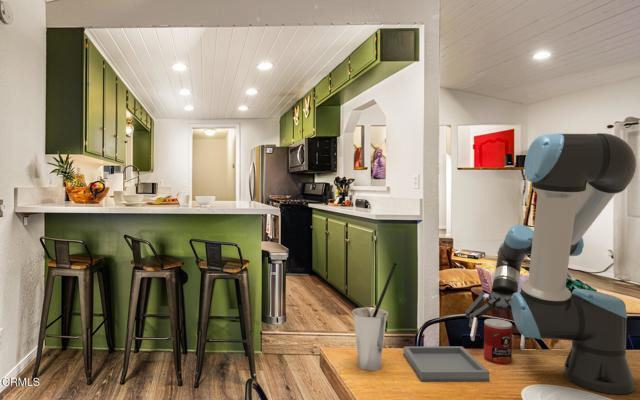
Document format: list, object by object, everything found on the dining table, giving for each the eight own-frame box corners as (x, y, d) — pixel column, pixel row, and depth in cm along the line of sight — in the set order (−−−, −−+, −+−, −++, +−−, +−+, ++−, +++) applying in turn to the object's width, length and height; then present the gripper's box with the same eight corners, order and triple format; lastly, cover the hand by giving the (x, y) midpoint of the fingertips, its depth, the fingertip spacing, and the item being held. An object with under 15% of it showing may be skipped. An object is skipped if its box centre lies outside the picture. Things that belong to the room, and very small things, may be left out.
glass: (395, 375, 107) (397, 263, 107) (353, 375, 107) (355, 263, 107) (388, 359, 118) (389, 257, 118) (350, 358, 117) (351, 257, 117)
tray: (461, 354, 122) (461, 346, 122) (489, 381, 104) (489, 371, 104) (403, 354, 121) (403, 346, 121) (421, 381, 103) (421, 372, 103)
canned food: (493, 365, 114) (494, 327, 114) (478, 354, 122) (478, 318, 122) (517, 364, 115) (518, 326, 115) (501, 353, 123) (501, 318, 123)
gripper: (550, 295, 125) (545, 359, 113) (467, 285, 139) (455, 340, 126) (549, 281, 121) (544, 346, 108) (464, 272, 134) (450, 328, 122)
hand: (496, 343), depth 117 cm, fingers open, 13 cm apart
